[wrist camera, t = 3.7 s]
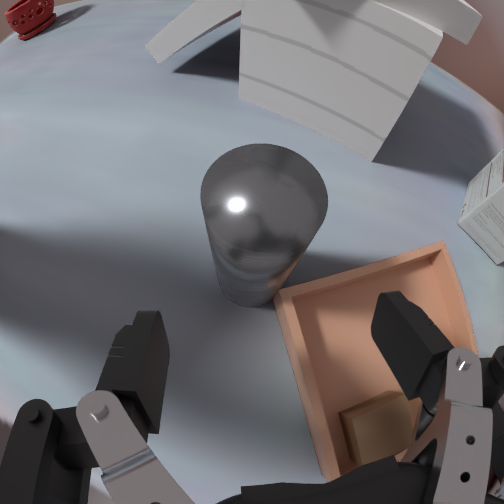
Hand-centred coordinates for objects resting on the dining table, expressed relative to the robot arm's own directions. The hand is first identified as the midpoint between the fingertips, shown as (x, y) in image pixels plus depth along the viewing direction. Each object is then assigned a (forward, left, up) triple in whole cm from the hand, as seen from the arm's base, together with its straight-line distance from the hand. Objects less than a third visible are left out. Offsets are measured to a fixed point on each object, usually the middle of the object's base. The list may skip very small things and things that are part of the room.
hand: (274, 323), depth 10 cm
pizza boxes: (+11, +26, -10) cm, 30 cm away
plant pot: (-36, +77, -10) cm, 86 cm away
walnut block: (+6, -9, -9) cm, 14 cm away
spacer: (+1, +4, -10) cm, 11 cm away
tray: (+9, -5, -10) cm, 14 cm away
